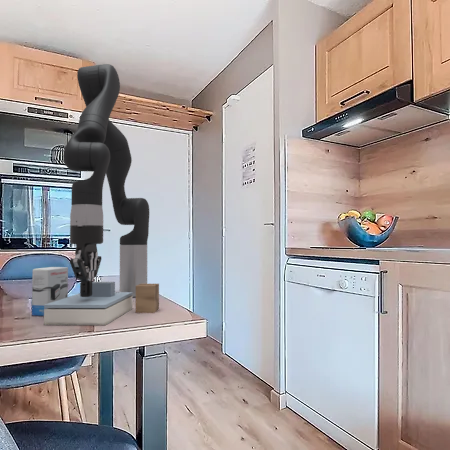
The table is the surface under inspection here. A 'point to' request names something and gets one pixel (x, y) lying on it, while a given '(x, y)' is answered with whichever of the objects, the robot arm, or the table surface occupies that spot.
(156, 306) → the parcel
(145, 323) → the table surface
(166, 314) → the table surface
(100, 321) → the beige shallow tray
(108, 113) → the robot arm
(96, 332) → the table surface
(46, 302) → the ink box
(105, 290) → the lid
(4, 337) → the table surface
